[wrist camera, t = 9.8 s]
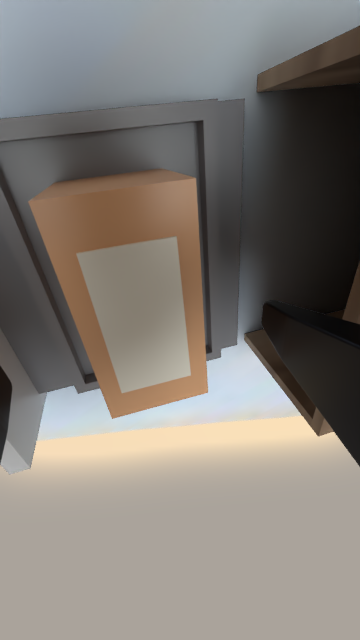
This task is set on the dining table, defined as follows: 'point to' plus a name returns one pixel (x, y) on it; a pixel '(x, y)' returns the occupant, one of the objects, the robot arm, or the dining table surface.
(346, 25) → the dining table surface
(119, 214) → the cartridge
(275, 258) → the dining table surface
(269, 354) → the box
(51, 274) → the tray
